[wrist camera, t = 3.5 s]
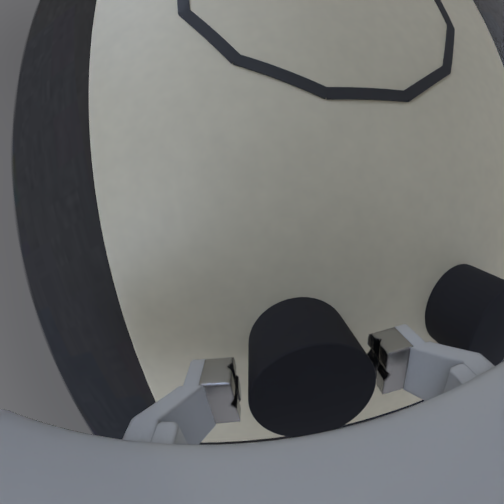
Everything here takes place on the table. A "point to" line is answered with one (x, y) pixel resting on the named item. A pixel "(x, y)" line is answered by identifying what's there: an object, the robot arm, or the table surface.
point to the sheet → (290, 169)
